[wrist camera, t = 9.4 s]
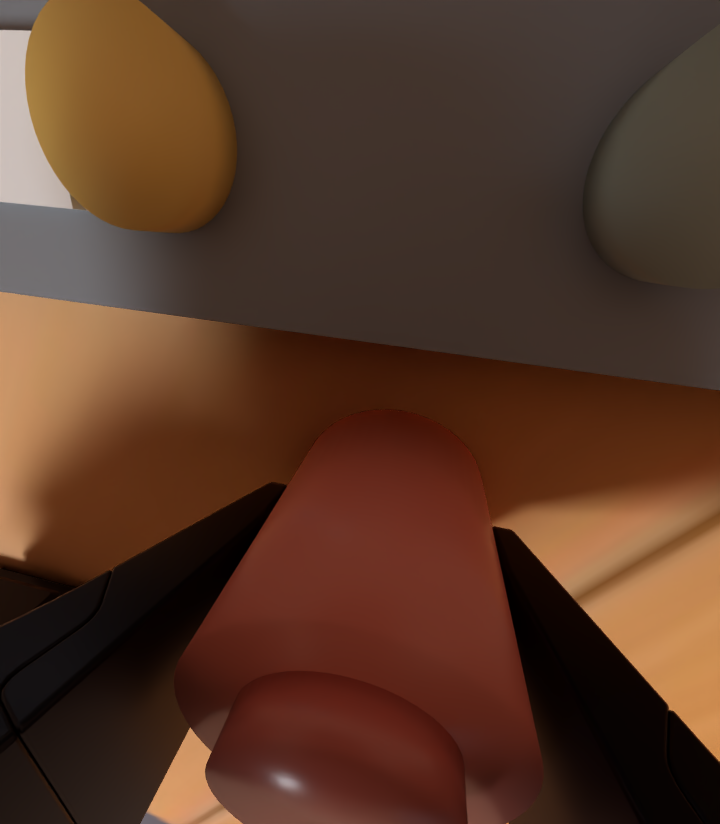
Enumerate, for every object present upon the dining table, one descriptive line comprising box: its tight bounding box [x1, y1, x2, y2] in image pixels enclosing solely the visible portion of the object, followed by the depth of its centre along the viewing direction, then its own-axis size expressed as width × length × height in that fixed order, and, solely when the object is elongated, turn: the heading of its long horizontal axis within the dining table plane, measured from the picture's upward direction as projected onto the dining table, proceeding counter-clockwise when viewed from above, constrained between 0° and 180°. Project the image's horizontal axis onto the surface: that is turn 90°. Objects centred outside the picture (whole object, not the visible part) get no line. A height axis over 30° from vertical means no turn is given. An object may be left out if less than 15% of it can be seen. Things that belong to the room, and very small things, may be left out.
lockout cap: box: [174, 409, 544, 824], centre depth 6 cm, size 4×4×6 cm
